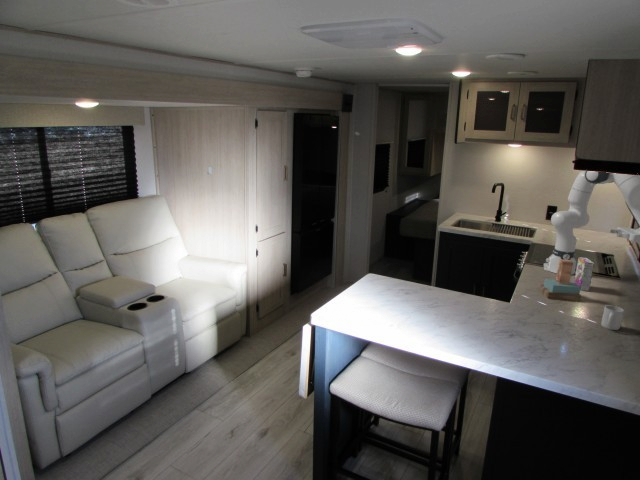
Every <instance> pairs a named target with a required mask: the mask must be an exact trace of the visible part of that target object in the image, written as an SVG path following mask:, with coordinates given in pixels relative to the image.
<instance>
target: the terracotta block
mask: <svg viewBox="0 0 640 480" xmlns="http://www.w3.org/2000/svg"><path fill="white" fill-rule="evenodd" d="M572 267H573V262H572V261H570V260H562V259H560V260H559V266H558V271H557V273H556V277H555V278H556V279H555V280H556V282H558V283H559V284H566V285H569V283H570V281H571V278H572V277H571V276H572V275H571V272H572Z"/></svg>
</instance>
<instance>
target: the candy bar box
mask: <svg viewBox="0 0 640 480" xmlns="http://www.w3.org/2000/svg"><path fill="white" fill-rule="evenodd" d="M594 267H595V263H594V262H593V261H591V259H589V258H588V257H582V256H581V257H580V256H579V257H578V259H577V263H576V268H575V271H576V274H574V276H575V277H574V280H573V282H574V283H576V284H577V285H579V286H580V287H581V289H580V292H589V291H590V289H591V283H592V278H593V273H594Z"/></svg>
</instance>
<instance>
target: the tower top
mask: <svg viewBox="0 0 640 480" xmlns="http://www.w3.org/2000/svg"><path fill="white" fill-rule="evenodd" d="M543 285H544V287H546V288H547V289H548V290H549V291H551V292H552V293H568V294H580V295H581V290H580V289H581V287H580V286H579V285H577V284H576V283H574V280H570V283H569V285H566V284H559V283H558V282H556V279H550V278H544V282H543Z"/></svg>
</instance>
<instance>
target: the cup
mask: <svg viewBox="0 0 640 480" xmlns="http://www.w3.org/2000/svg"><path fill="white" fill-rule="evenodd" d="M624 311H625V310H624V309H623V308H622V307H619V306H616V305H609V304H606V305H604V308H603V313H602V318H601V323H600V324H601V327H603V328H605V329H607V330H612V331H618V330H619V329H620V328H621V324H622V319H623V315H624Z"/></svg>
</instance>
